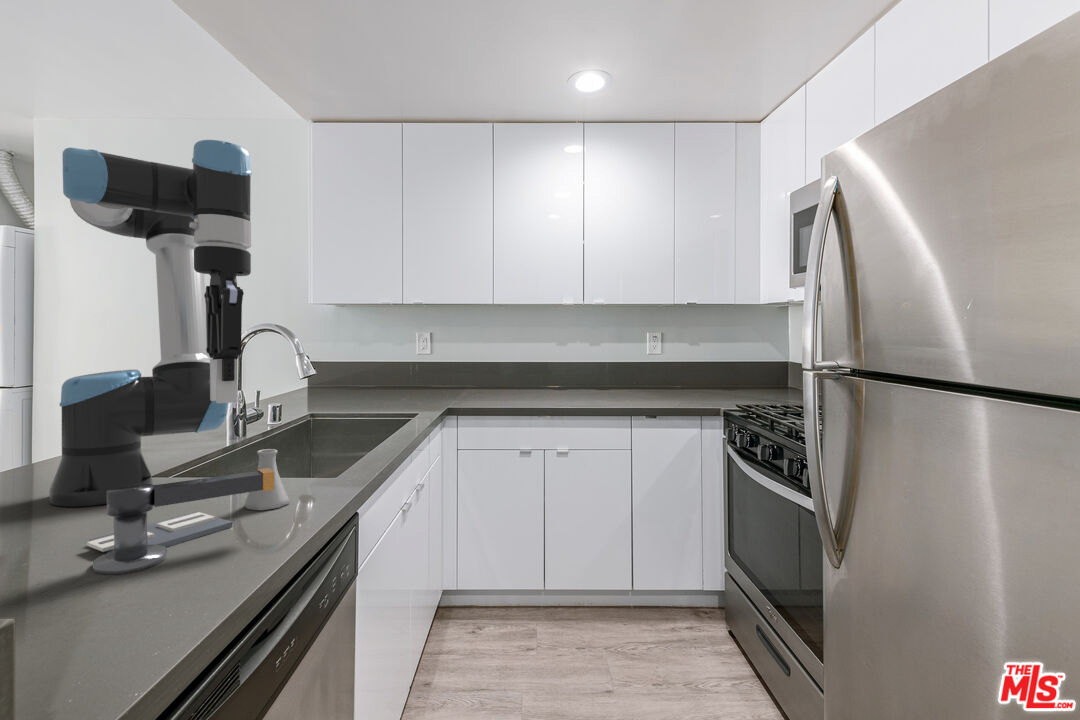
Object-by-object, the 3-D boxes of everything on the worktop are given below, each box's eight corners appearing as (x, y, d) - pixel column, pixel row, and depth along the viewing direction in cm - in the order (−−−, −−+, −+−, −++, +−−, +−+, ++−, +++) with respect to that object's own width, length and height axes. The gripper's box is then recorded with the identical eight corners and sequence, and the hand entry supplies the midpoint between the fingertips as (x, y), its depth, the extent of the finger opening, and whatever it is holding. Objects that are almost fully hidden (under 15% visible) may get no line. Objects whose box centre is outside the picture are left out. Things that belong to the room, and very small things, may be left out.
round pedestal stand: (80, 566, 72) (80, 517, 71) (148, 546, 79) (147, 501, 78) (111, 579, 68) (111, 528, 68) (179, 557, 75) (179, 511, 75)
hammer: (108, 519, 70) (108, 496, 69) (105, 509, 73) (105, 487, 73) (276, 491, 83) (276, 472, 83) (266, 484, 87) (266, 466, 87)
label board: (79, 547, 78) (79, 538, 78) (196, 516, 92) (196, 507, 92) (115, 562, 73) (115, 552, 73) (232, 526, 87) (232, 518, 87)
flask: (259, 514, 94) (259, 456, 93) (236, 506, 98) (236, 451, 97) (297, 503, 100) (297, 449, 99) (274, 497, 104) (274, 445, 103)
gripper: (184, 250, 87) (185, 397, 87) (205, 237, 74) (206, 408, 75) (236, 256, 92) (237, 395, 92) (265, 244, 79) (265, 405, 80)
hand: (223, 400), depth 84 cm, fingers open, 3 cm apart
